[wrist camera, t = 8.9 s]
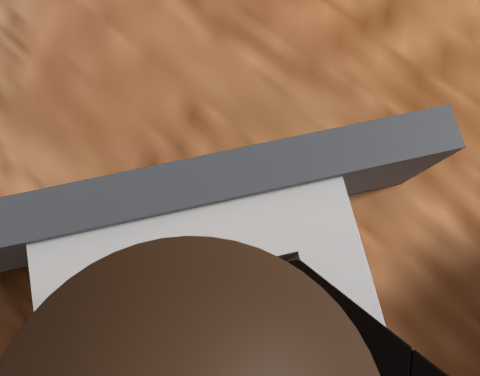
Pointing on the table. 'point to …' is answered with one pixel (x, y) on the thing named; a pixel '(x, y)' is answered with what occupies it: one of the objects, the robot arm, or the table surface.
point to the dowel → (189, 318)
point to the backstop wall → (231, 178)
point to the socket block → (234, 238)
